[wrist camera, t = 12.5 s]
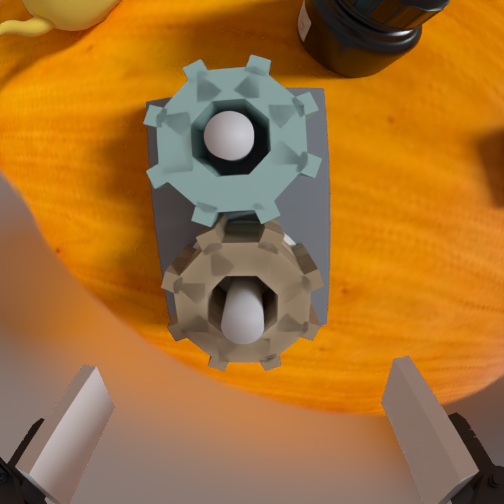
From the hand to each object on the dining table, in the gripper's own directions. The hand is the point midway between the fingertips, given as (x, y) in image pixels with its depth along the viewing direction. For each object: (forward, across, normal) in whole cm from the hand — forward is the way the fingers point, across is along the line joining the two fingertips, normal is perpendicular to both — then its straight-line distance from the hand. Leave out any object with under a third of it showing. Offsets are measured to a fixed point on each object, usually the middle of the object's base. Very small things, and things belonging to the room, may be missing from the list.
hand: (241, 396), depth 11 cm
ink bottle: (+15, +10, +21) cm, 28 cm away
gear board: (+15, 0, +5) cm, 16 cm away
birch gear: (+13, 0, 0) cm, 13 cm away
